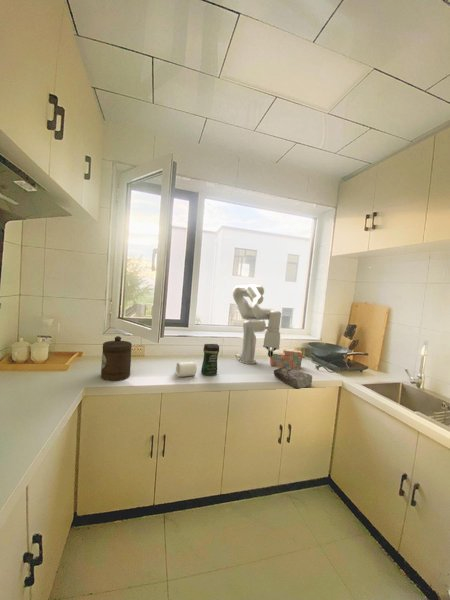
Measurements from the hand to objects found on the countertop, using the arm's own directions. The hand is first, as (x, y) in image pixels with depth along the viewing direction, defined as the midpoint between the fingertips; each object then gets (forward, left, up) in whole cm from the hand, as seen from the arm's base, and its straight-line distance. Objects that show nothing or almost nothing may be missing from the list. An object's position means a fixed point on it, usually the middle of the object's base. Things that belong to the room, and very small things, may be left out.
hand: (269, 356), depth 169 cm
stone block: (+8, -3, -8) cm, 11 cm away
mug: (-48, -27, -11) cm, 57 cm away
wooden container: (-81, -46, -11) cm, 94 cm away
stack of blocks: (+11, +20, -11) cm, 26 cm away
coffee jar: (-35, -19, -11) cm, 42 cm away
